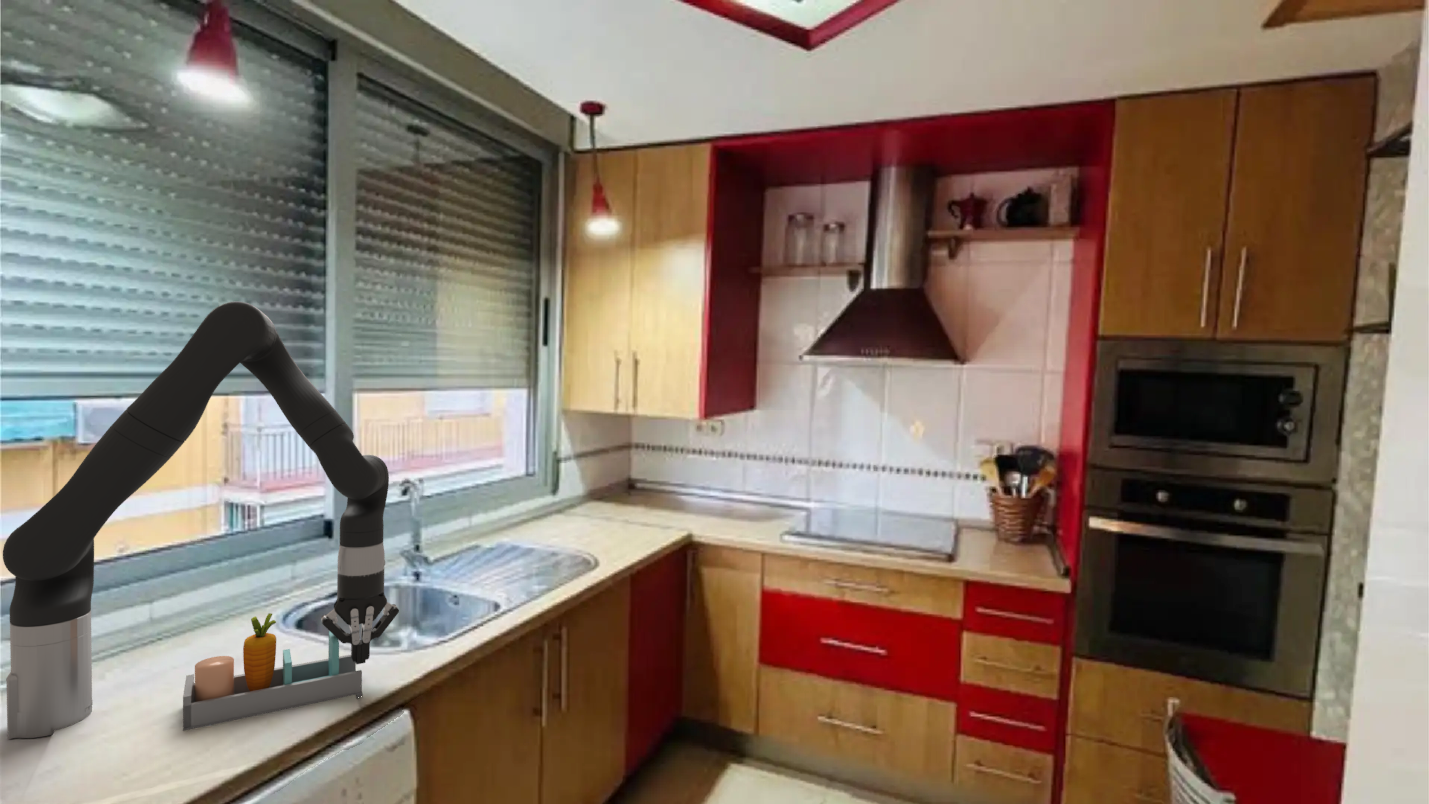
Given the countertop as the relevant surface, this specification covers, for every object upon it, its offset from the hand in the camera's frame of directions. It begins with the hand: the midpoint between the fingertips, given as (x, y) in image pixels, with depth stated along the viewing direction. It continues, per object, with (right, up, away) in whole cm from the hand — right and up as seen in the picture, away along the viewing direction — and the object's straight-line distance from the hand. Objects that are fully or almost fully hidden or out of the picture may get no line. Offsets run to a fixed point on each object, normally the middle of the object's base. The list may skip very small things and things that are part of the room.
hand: (360, 662), depth 126 cm
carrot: (-13, -4, -8) cm, 16 cm away
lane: (-11, -4, -7) cm, 13 cm away
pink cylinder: (-18, -4, -12) cm, 22 cm away
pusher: (-6, -3, -4) cm, 8 cm away
